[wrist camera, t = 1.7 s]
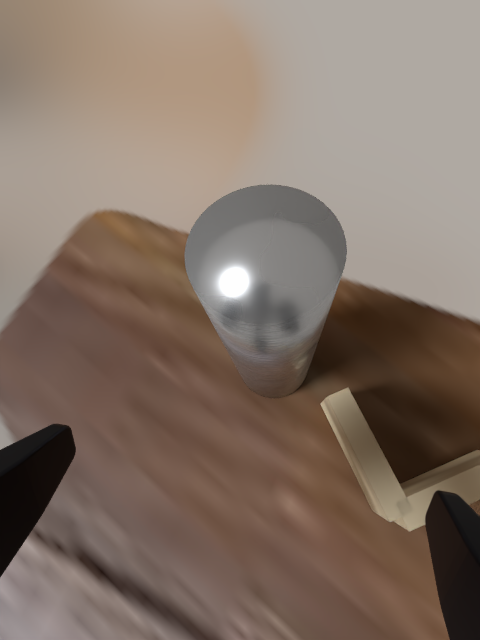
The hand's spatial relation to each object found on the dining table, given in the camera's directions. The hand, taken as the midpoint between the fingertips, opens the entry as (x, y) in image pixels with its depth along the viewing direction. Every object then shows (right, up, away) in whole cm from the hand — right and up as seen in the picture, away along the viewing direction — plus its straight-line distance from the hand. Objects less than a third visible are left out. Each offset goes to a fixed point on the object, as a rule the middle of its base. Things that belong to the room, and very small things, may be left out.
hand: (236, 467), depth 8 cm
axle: (+2, +1, +13) cm, 13 cm away
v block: (+9, -4, +10) cm, 14 cm away
